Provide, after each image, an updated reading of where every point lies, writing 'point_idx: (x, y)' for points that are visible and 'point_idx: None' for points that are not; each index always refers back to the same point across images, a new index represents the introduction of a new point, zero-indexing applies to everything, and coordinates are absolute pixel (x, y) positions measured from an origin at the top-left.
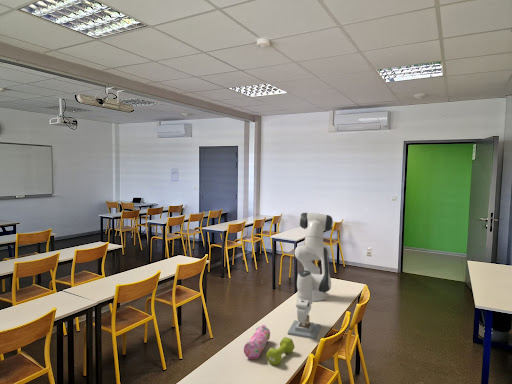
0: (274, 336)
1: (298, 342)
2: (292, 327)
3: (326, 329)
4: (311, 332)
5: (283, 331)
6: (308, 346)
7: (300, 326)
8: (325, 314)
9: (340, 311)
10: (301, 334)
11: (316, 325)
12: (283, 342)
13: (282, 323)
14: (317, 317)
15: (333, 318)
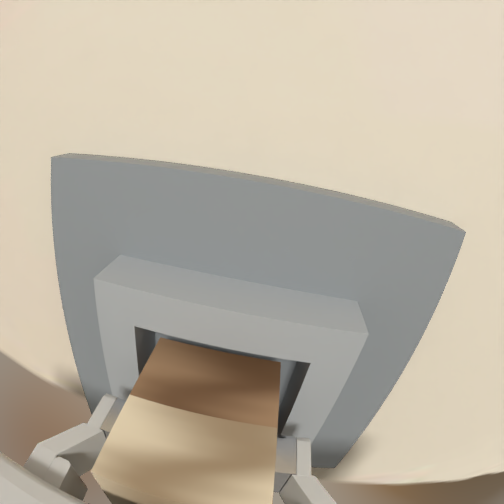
0: (24, 31)
1: (3, 279)
2: (205, 207)
3: None
4: None
5: (129, 77)
6: (5, 340)
7: (155, 352)
8: (501, 438)
9: (494, 472)
10: (69, 324)
11: (311, 450)
12: None
13: (395, 33)
14: (486, 415)
15: (438, 476)
